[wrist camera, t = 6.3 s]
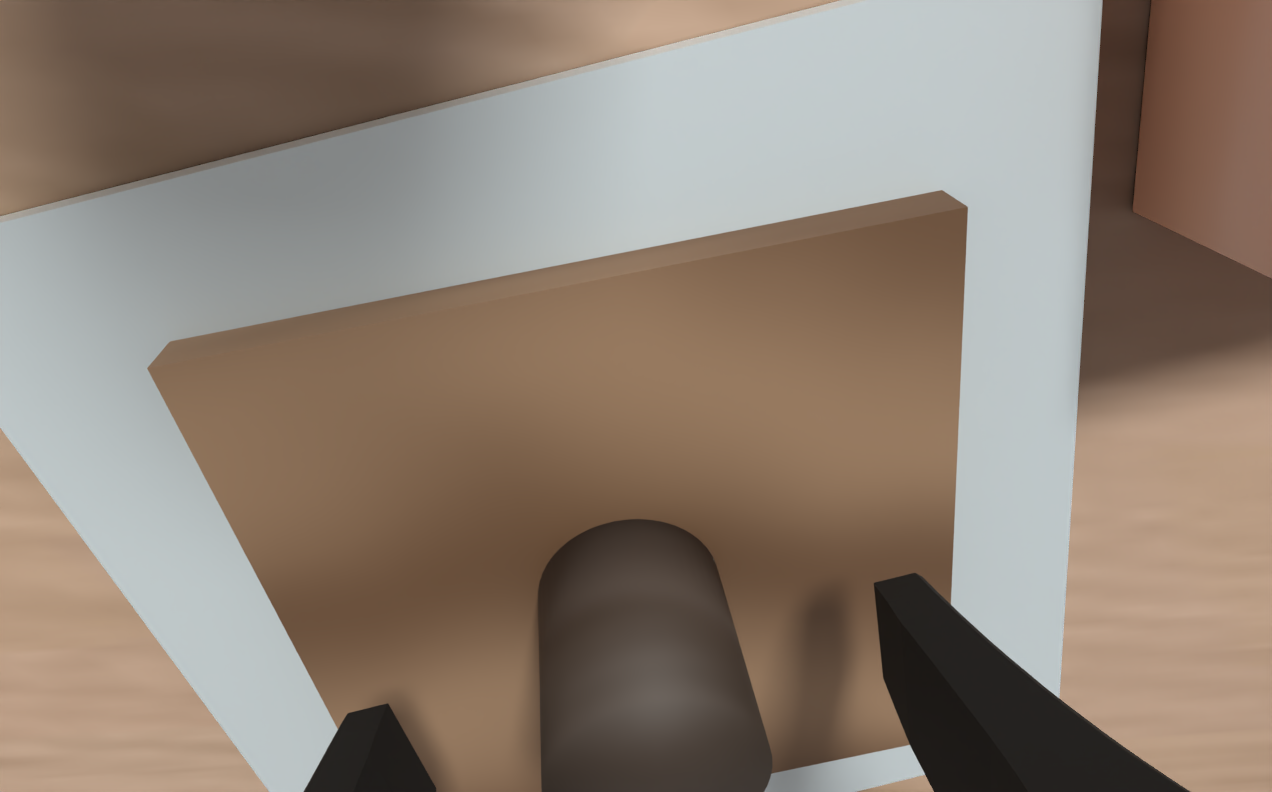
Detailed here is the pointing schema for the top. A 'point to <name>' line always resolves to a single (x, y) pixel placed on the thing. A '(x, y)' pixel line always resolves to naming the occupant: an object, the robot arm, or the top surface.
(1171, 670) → the top surface
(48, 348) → the mat
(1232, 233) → the shallow cardboard tray
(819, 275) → the lid
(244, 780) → the top surface
